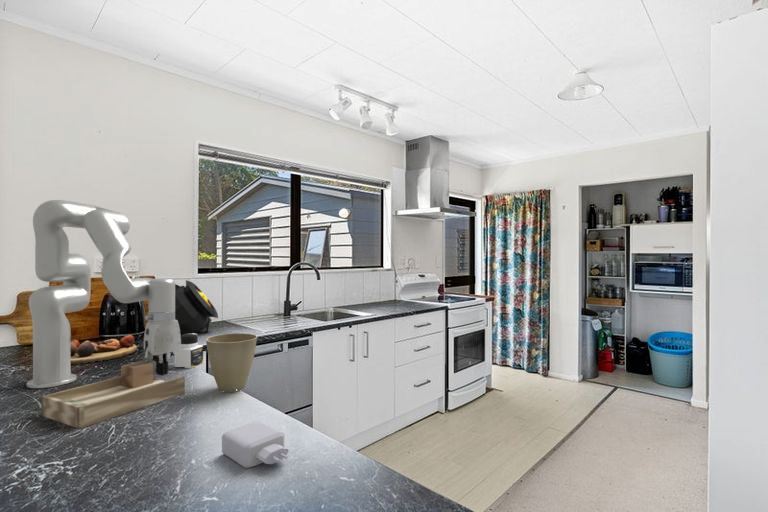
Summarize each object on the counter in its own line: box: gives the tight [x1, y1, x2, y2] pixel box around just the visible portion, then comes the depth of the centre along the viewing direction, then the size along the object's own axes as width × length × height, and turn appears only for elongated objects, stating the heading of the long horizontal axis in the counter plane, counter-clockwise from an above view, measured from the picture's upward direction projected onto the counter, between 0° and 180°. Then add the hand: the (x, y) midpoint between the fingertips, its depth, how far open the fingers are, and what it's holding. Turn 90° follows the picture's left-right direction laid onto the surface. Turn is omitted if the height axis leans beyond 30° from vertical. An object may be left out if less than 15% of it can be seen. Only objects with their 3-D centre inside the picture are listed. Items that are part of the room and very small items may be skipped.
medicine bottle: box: [174, 332, 204, 369], centre depth 152 cm, size 7×7×12 cm
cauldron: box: [175, 279, 219, 333], centre depth 217 cm, size 28×28×24 cm
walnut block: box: [120, 360, 154, 389], centre depth 121 cm, size 6×6×6 cm
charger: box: [221, 420, 290, 469], centre depth 81 cm, size 5×9×15 cm
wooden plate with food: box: [71, 334, 138, 365], centre depth 169 cm, size 32×32×8 cm
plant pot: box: [205, 332, 258, 393], centre depth 125 cm, size 15×15×16 cm
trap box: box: [41, 375, 186, 429], centre depth 112 cm, size 18×28×5 cm, turn 153°
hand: (162, 374), depth 128 cm, fingers closed
